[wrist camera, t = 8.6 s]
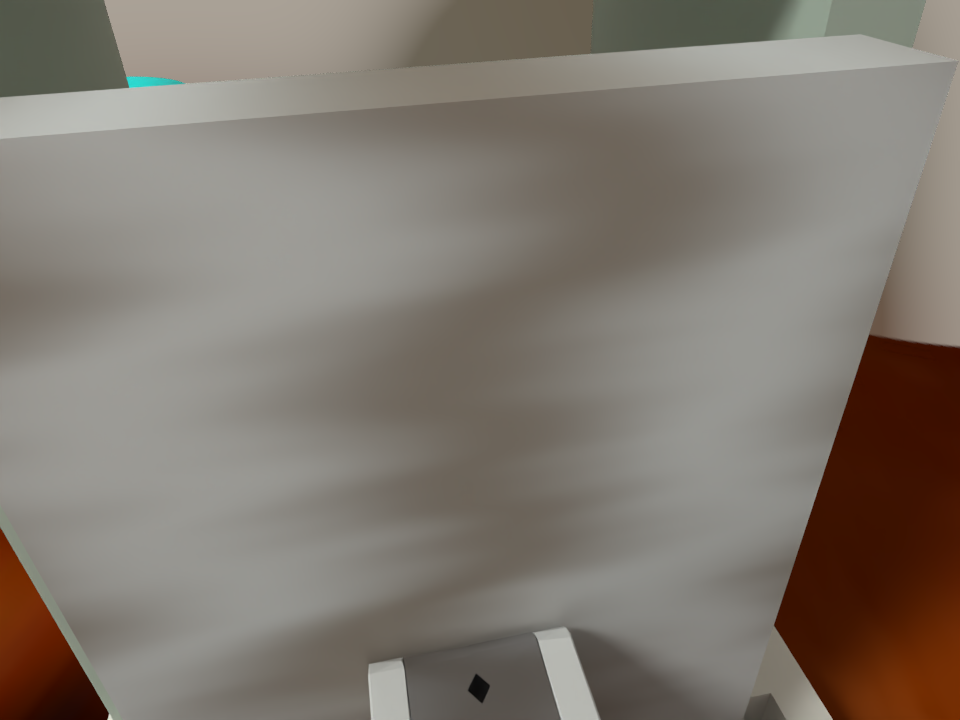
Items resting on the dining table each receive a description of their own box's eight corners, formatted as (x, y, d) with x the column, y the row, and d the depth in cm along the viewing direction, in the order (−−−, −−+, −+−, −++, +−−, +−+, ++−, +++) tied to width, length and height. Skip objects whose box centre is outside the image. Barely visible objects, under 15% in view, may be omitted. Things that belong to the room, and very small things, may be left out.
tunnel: (125, 740, 16) (-510, -344, 6) (188, 450, 24) (-40, -214, 14) (747, 615, 18) (1022, -330, 8) (611, 388, 26) (667, -223, 16)
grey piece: (221, 892, 13) (-199, 155, 5) (271, 322, 30) (187, -51, 23) (724, 774, 15) (958, 61, 7) (500, 294, 32) (495, -66, 24)
